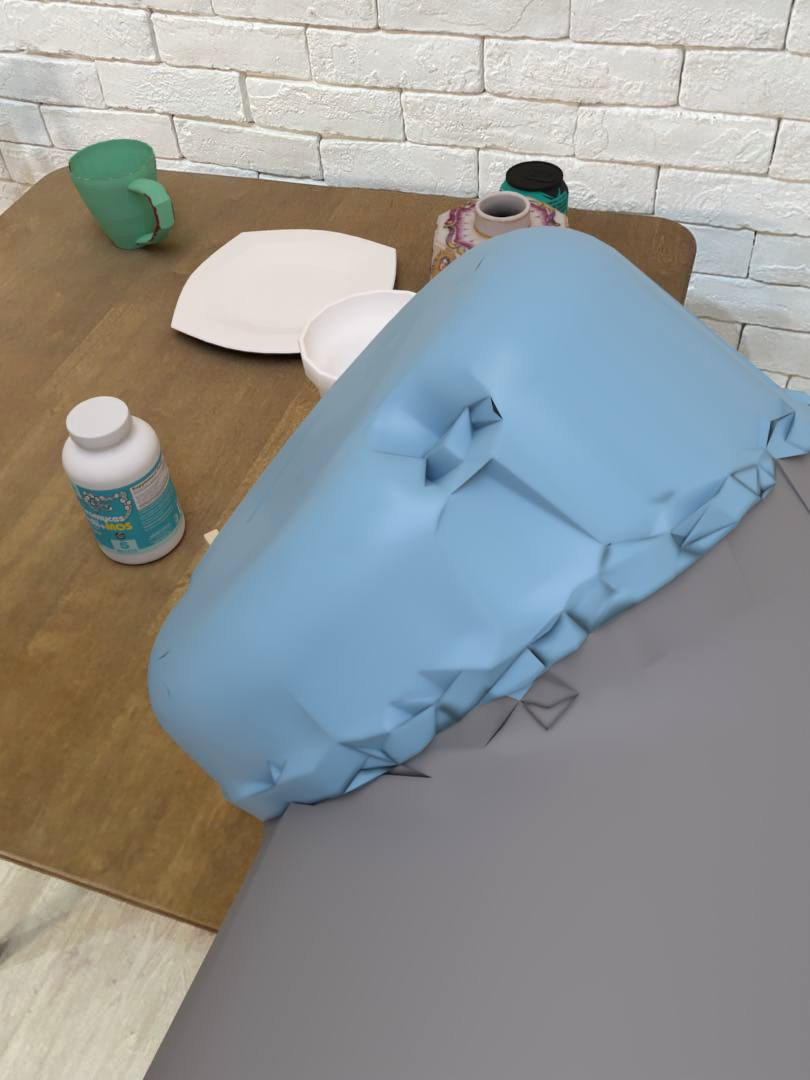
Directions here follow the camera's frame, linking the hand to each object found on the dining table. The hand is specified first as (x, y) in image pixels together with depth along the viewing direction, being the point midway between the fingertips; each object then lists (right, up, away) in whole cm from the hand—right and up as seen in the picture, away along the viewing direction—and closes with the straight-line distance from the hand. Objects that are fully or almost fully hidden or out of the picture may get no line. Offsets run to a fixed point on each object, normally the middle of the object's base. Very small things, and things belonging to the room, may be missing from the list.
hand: (401, 729), depth 46 cm
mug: (-31, +44, +66) cm, 85 cm away
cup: (-1, +15, +37) cm, 40 cm away
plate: (-12, +35, +56) cm, 68 cm away
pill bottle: (-22, +10, +34) cm, 42 cm away
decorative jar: (+9, +25, +46) cm, 53 cm away
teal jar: (+14, +38, +57) cm, 69 cm away
